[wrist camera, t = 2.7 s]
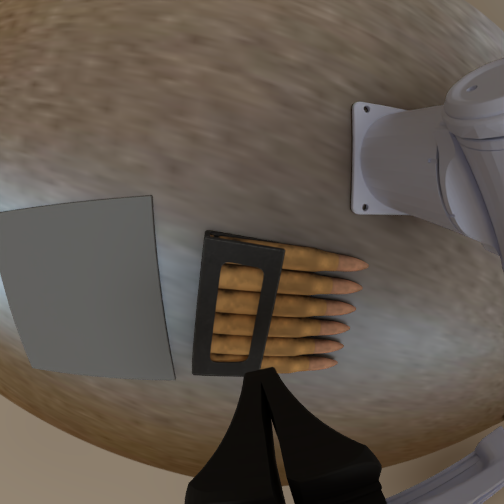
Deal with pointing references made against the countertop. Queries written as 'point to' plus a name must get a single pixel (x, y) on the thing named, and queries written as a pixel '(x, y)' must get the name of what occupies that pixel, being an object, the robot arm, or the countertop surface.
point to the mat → (87, 288)
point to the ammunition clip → (266, 306)
